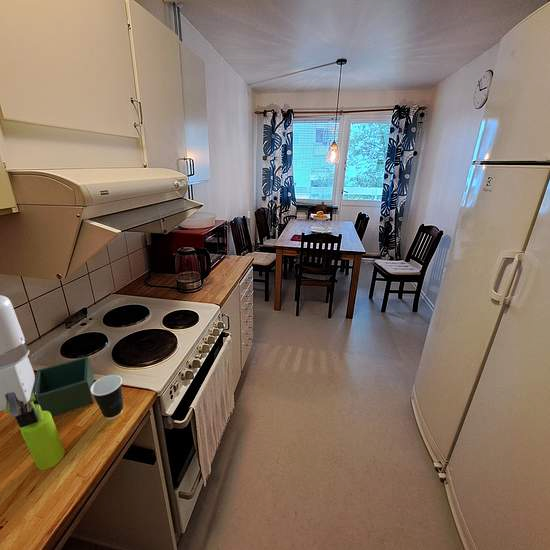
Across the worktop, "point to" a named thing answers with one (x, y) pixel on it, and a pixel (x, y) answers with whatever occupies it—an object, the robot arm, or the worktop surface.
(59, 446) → the soap dispenser
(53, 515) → the worktop surface
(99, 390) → the dixie cup
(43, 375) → the bin
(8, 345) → the robot arm
